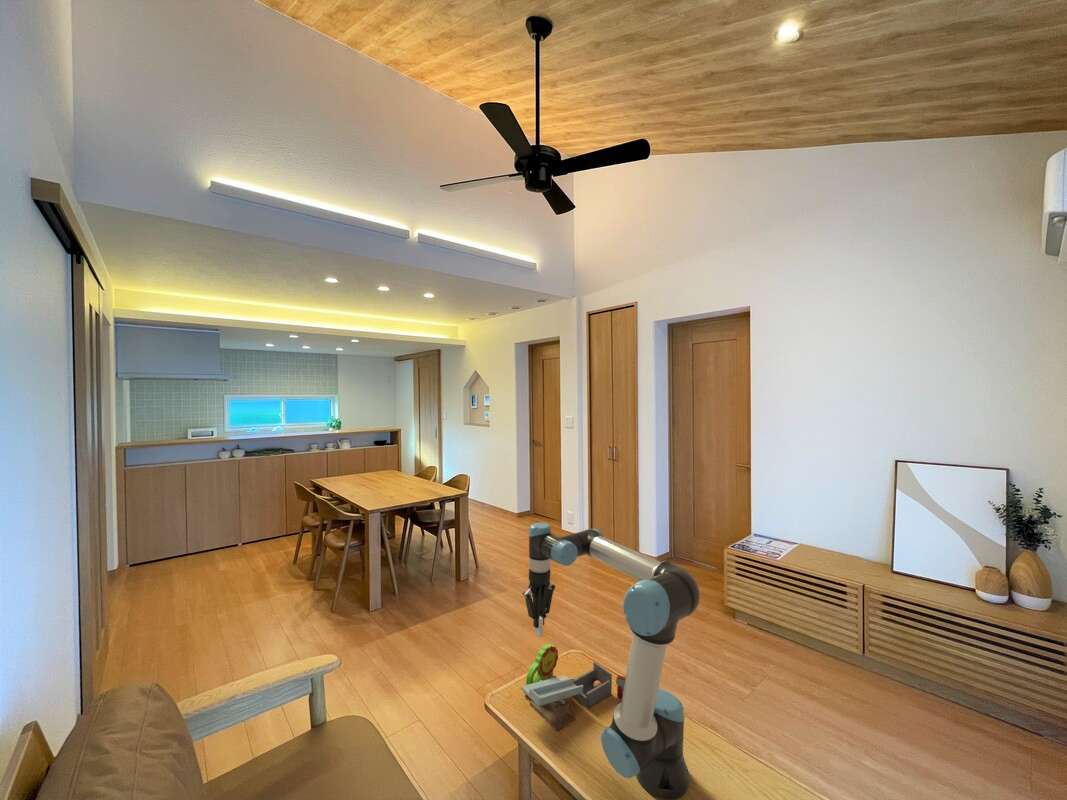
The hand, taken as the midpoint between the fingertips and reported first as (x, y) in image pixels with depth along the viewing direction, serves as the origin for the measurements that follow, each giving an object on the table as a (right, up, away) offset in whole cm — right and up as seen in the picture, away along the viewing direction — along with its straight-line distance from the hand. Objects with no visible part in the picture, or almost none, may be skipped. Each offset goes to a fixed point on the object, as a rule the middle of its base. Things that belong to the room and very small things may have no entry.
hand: (538, 635), depth 151 cm
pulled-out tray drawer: (+19, -26, +8) cm, 34 cm away
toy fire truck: (+33, -27, +1) cm, 43 cm away
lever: (+4, -20, -1) cm, 20 cm away
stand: (+5, -27, -1) cm, 27 cm away
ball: (+22, -24, +10) cm, 34 cm away
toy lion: (+2, -26, +12) cm, 29 cm away
